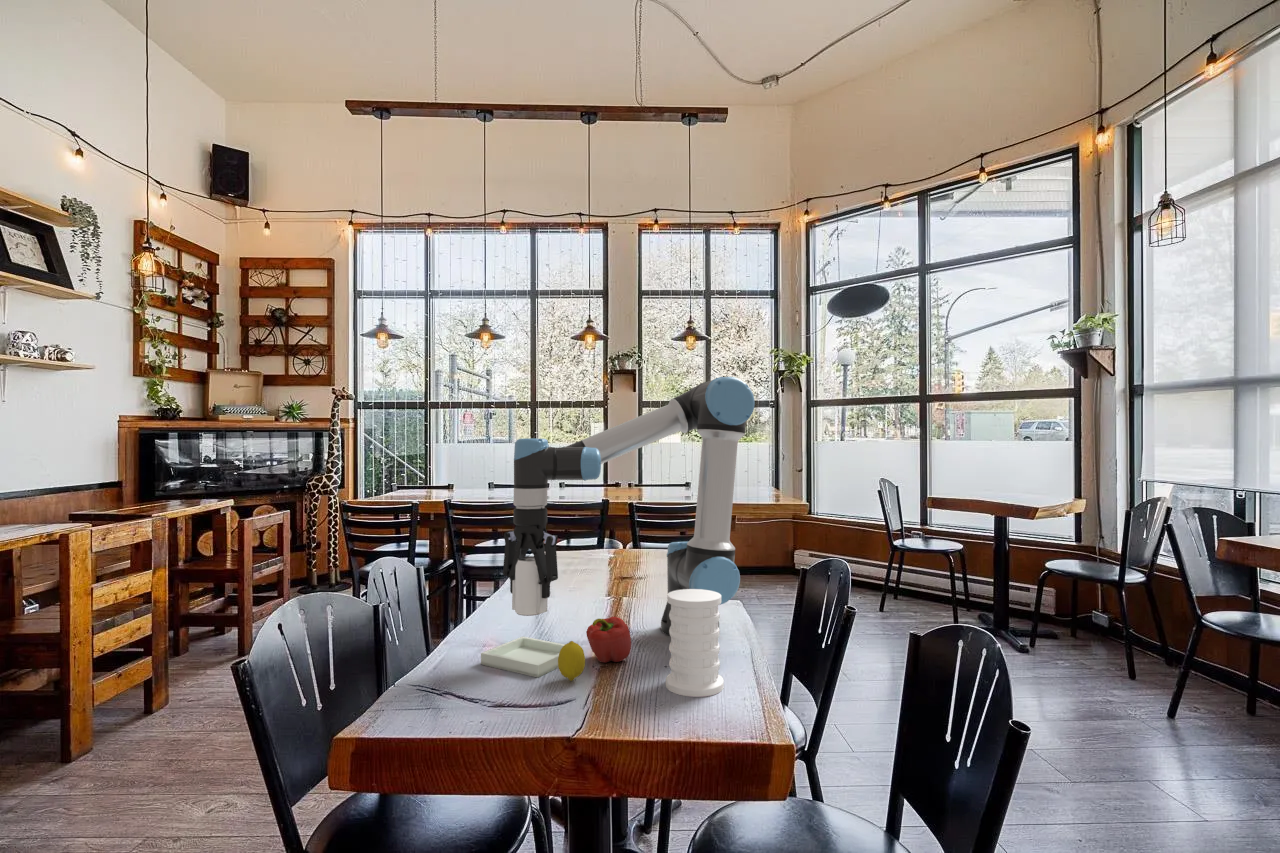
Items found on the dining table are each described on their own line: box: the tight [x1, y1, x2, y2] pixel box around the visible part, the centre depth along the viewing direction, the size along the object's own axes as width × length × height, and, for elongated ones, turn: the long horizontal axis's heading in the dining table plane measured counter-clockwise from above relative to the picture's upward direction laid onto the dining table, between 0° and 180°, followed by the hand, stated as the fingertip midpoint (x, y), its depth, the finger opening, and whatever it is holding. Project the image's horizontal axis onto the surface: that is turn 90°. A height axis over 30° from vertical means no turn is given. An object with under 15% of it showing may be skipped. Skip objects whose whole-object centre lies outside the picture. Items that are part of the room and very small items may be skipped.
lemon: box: [558, 640, 586, 682], centre depth 129 cm, size 6×6×8 cm
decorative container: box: [665, 589, 725, 698], centre depth 126 cm, size 12×12×18 cm
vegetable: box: [585, 615, 632, 664], centre depth 141 cm, size 11×10×10 cm
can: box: [514, 555, 540, 617], centre depth 141 cm, size 6×6×12 cm
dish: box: [480, 636, 565, 678], centre depth 141 cm, size 16×14×2 cm
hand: (529, 610), depth 141 cm, fingers closed on can, 6 cm apart
